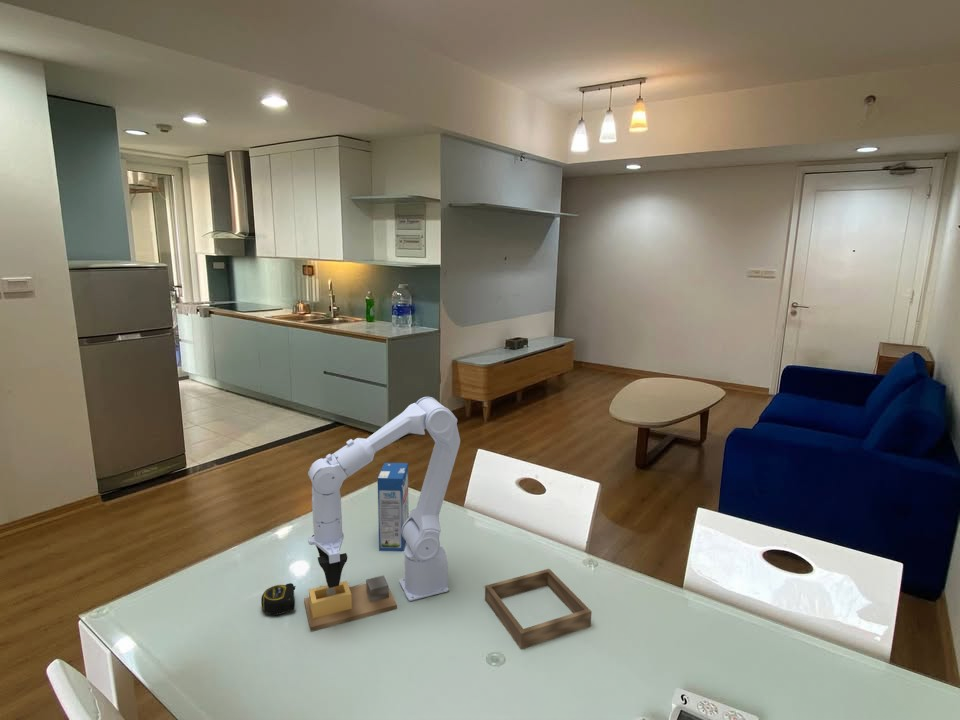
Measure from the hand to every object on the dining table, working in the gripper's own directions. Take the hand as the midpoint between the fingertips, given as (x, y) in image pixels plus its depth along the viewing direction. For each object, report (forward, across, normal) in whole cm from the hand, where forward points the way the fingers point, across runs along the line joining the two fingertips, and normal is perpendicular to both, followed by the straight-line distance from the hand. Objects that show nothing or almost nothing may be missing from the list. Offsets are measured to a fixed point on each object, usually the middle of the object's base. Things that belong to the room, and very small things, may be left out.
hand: (330, 575), depth 114 cm
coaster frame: (+8, +18, +40) cm, 45 cm away
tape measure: (+9, -6, -10) cm, 14 cm away
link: (+7, 0, 0) cm, 7 cm away
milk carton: (+9, -22, +20) cm, 31 cm away
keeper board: (+8, 0, +4) cm, 9 cm away
